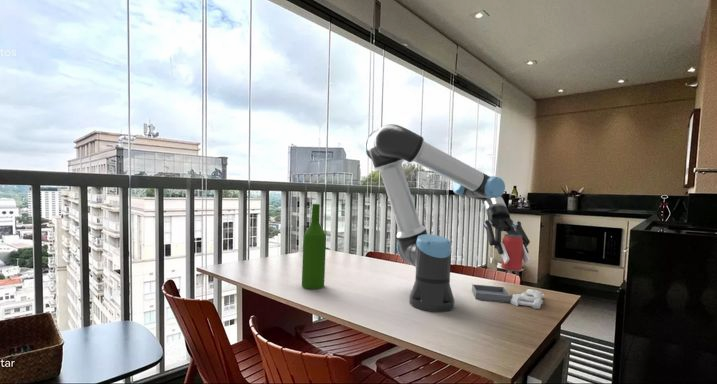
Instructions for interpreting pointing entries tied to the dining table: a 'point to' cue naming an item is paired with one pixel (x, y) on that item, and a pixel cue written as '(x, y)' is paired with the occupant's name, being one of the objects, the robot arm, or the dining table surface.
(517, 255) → the beer can
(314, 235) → the wine bottle
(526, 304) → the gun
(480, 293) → the can tray
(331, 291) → the dining table surface
